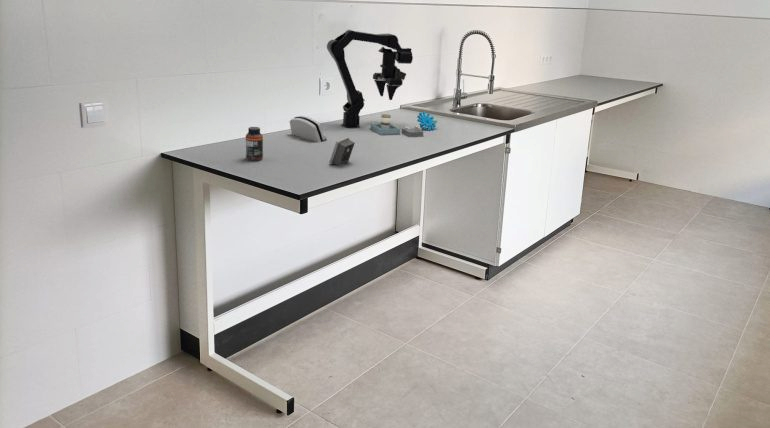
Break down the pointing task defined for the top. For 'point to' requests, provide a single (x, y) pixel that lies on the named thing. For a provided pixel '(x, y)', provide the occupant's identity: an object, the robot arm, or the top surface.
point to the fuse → (385, 121)
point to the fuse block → (412, 131)
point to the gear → (426, 121)
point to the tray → (385, 130)
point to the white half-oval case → (307, 128)
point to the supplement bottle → (254, 144)
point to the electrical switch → (342, 151)
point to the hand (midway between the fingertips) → (386, 98)
